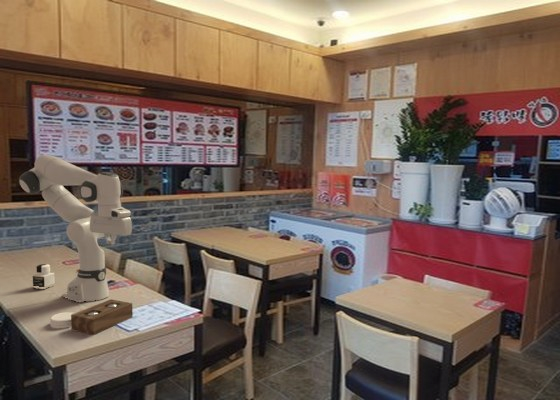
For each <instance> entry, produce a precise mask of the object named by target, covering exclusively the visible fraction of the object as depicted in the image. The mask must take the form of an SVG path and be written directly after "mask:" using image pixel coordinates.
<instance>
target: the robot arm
mask: <svg viewBox="0 0 560 400" xmlns="http://www.w3.org/2000/svg"><path fill="white" fill-rule="evenodd" d="M18 182H19V185H20V186H21V188H22V190H24V191H25V192H26V193H27V194H30V195H35V194H38V193H40V192H41V196H42V198H43V199H44V201H45V202H46V203H47V205H48V206H49V207H50V208H51V209H52V210H53V211H54V212H55V213H56V214H57V215H58V216H59V217H60V218H62V219H61V220H63V221H65V222H67V223H69V224H68V225H67V227H66V236H67V238H68V240H69V241H71V242H72V243H74V246H75V247H76V249H77V252H78V256H79V257H78V259H79V269H76V270H75V272H76V273H77V275H76V276H75V278H74V279H72V280H71V281H70V282H69V283H68V284H67V289H66V292H64V293H62V294H61V297H62V296H64V297H67V298H69V299H71V300H74V301H76V302H75V303H77V302H79V303H85V302H84V301H86V302H94V301H95V300H96V301H100V300H103V299H107V298H108V297H109V296H110V292H109V291H110V289H109V286H108V285H109V284H108V278H107V276H106V275H107V268H106V262H105V261H106V260H105V258H106V257H105V254H106V253H105V251H104V249H102V248H101V247H100V246H99V244H98V239H101V238H105V243H106V244H107V245H110V246H111V245H112V246H113V245H115V244H116V239H117V237H118V236H123V237H125V236H129V235H131V234H132V233H133V223H132V219H131V217H130V216H131V215H132V211H130V210H129V209H127V208H124V207H123V206H122V202H121V198H122V196H123V194H124V186H123V185H122V183H121V181H120V178H119V175H118V174H116V173H115V172H109V171H101V172H99V173H98V174H97V173H94V172H93V171H90V170H89V171H88V170H86V169H83V168H81V167H79V166H77V165H74V164H72V163H70V162H68V161H66V160H64V159H62V158H60V157H59V156H56V155H51V154H42V155H40V156H38V157H36V159H35V161H34V167H33V168H31V169H29V170H28V171H25V172H24V173H22V174H21V175H20V176H19V178H18ZM64 186H67V187H68V186H80V187H79V195H80V197H81V199H82V201H84V202H85V203H90V204H91V203H97V210H94V209H92V208H90V207H88V206H87V205H85V204H84V203H82V202H81V201H80V200H79V199H78V198H77V197H76V196H75V195H73V194H72V193H71V192H70V191H69V190H68V189H66V188H65V187H64ZM65 293H67V294H65ZM69 299H68V300H69ZM71 300H70V301H71ZM74 301H73V302H74Z"/></svg>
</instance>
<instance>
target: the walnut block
mask: <svg viewBox="0 0 560 400" xmlns="http://www.w3.org/2000/svg"><path fill="white" fill-rule="evenodd" d="M109 304H117V306H114V307H108V305H109ZM94 311H95V312H98V313H97V314H95V315H93V316H92V315H88V313H89V312H94ZM132 318H133V303H132V302H127V301H122V300H117V299H108V300H106V301H103V302H101V303H97V304H96V305H93V306H90V307H87V308H84V309H82V310H80V311H76V312H75V313H74V314H72V315H71V330H72V331H77V332H80V333H85V334H89V335H93V336H95V335H97V334H99V333H101V332H103V331H106V330H108V329H110V328H112V327H114V326H116V325H118V324H120V323H122V322H126V321H127V320H129V319H132Z"/></svg>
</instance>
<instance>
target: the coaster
mask: <svg viewBox="0 0 560 400" xmlns="http://www.w3.org/2000/svg"><path fill="white" fill-rule="evenodd" d="M74 313H76V311H75V312H74V311H66V312H65V311H64V312H59V313H56V314H54V315H52V316H51V317H50V318H49V321H50V322H49V323H50V327H51V328H53V329H55V330H57V329H58V330H59V329H67V328H72V326H71V315H72V314H74Z"/></svg>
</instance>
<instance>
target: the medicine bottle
mask: <svg viewBox="0 0 560 400" xmlns="http://www.w3.org/2000/svg"><path fill="white" fill-rule="evenodd" d="M55 281H56V279H55V272H51V265H50V264H48V263H43V264H38V265H37V266H36V274H32V286H39V287H46V286H49V285H51V284H54V283H55ZM55 284H56V283H55Z"/></svg>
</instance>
